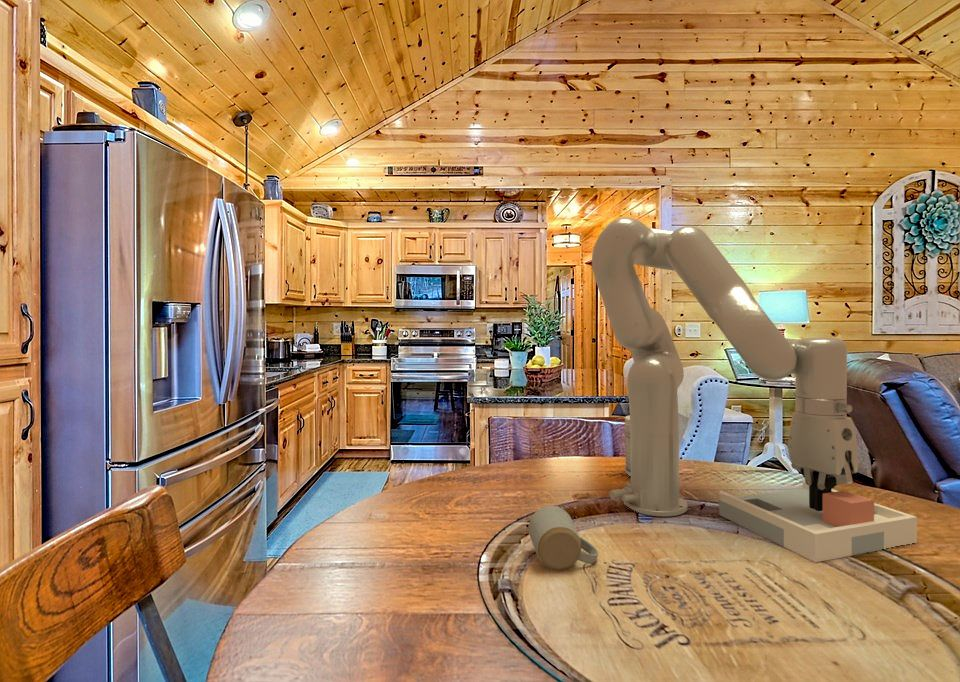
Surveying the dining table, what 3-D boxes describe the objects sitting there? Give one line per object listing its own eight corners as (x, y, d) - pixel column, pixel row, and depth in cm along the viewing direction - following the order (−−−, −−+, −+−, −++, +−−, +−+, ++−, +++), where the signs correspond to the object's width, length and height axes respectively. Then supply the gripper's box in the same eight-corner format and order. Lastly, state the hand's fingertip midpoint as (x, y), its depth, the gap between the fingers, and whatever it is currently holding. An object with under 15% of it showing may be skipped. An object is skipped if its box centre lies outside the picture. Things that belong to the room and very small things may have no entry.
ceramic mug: (537, 574, 75) (537, 525, 75) (528, 550, 83) (528, 505, 83) (605, 572, 76) (605, 523, 76) (589, 548, 84) (589, 503, 84)
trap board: (815, 562, 77) (815, 534, 77) (719, 514, 97) (718, 492, 97) (916, 543, 83) (917, 516, 83) (806, 501, 103) (806, 480, 103)
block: (851, 533, 80) (851, 503, 80) (822, 522, 85) (822, 493, 85) (874, 529, 82) (874, 499, 82) (844, 518, 86) (844, 490, 86)
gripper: (880, 412, 81) (879, 522, 82) (799, 400, 96) (799, 493, 96) (846, 415, 79) (845, 527, 80) (768, 402, 94) (768, 497, 94)
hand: (820, 508), depth 88 cm, fingers closed
